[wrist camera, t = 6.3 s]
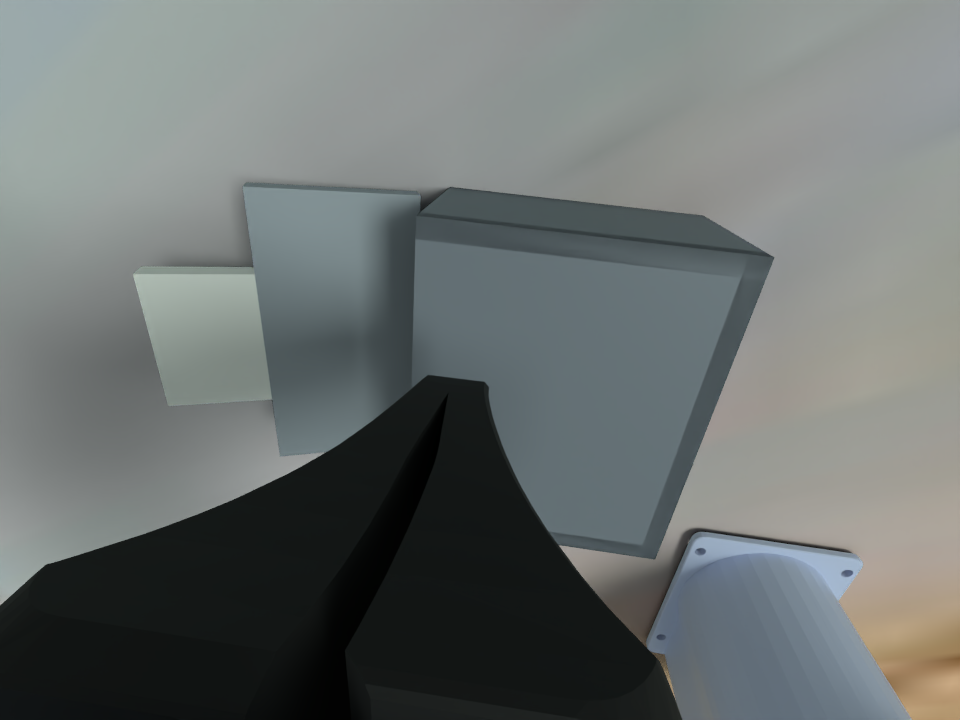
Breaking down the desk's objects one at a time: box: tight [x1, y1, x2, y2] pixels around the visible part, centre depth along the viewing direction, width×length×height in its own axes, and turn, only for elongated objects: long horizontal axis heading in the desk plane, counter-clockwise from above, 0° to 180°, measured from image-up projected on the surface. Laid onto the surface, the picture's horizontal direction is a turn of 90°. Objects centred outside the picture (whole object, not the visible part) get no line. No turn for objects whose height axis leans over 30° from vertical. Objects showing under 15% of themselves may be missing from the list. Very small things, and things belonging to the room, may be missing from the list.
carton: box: [411, 187, 774, 559], centre depth 17 cm, size 11×9×6 cm
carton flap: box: [133, 183, 421, 456], centre depth 17 cm, size 11×1×9 cm
